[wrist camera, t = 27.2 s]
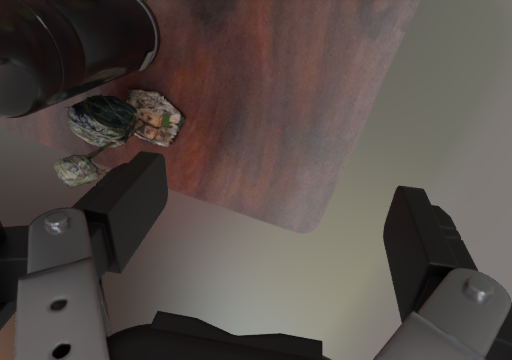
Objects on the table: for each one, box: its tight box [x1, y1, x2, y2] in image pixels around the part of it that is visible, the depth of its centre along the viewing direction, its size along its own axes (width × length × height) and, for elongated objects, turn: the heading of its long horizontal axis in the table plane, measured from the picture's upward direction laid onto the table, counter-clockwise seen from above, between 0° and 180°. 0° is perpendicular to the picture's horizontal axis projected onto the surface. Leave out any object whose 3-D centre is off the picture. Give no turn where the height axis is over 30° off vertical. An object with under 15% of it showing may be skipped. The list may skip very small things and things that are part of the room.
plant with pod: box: [54, 89, 185, 188], centre depth 39 cm, size 8×11×20 cm
